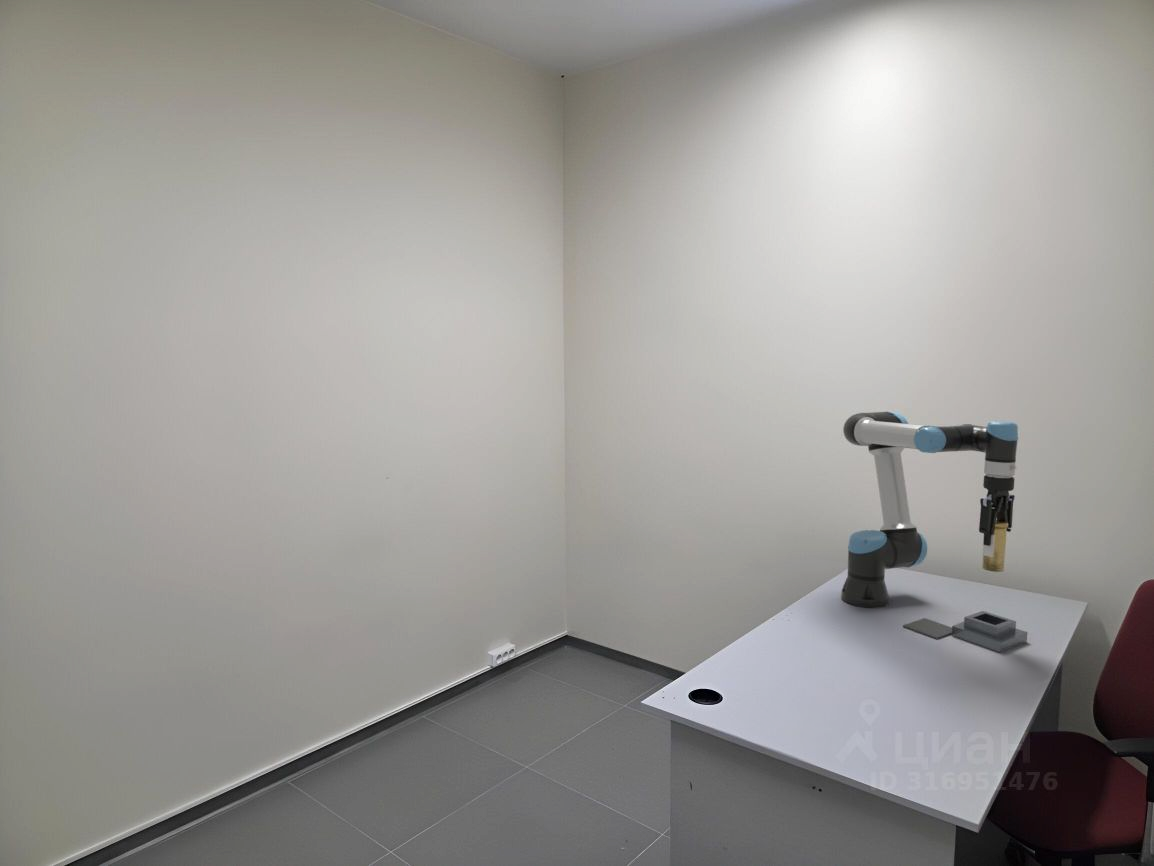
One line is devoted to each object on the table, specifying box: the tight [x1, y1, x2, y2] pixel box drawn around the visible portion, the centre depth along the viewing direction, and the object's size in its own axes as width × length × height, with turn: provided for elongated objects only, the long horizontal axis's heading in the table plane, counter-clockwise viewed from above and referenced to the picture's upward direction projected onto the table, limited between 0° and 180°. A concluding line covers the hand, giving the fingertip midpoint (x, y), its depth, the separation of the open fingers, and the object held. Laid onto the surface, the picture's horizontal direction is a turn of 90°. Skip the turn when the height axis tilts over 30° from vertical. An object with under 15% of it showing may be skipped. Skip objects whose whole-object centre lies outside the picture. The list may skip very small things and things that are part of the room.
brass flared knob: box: [981, 519, 1008, 573], centre depth 200 cm, size 6×6×14 cm
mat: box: [902, 617, 952, 640], centre depth 210 cm, size 11×11×1 cm
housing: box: [951, 610, 1028, 654], centre depth 203 cm, size 14×14×6 cm
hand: (993, 554), depth 200 cm, fingers closed on brass flared knob, 5 cm apart
